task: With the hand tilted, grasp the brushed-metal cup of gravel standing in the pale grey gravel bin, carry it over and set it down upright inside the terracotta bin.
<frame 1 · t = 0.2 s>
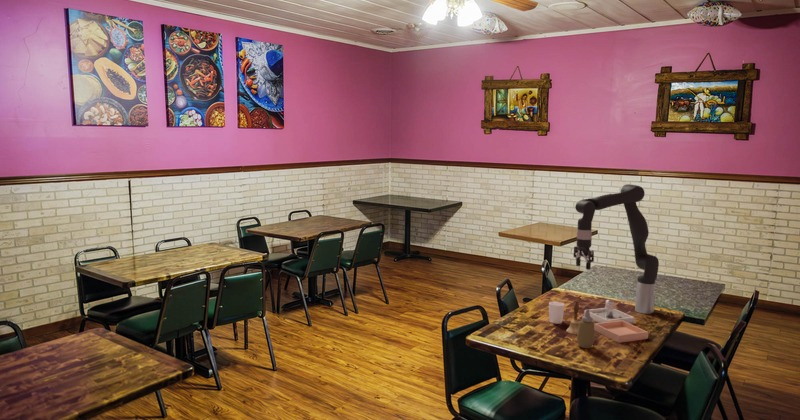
hand: (583, 267, 302), 29 cm above the table, tool pointing down, fingers open, 8 cm apart
terracotta bin: (620, 334, 284), on the table
squeeze bottle: (585, 346, 266), on the table
white cup: (555, 322, 301), on the table
gravel bin: (608, 319, 306), on the table
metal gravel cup: (608, 316, 305), point 2 cm above the table, touching gravel bin
hand bell: (574, 332, 286), on the table
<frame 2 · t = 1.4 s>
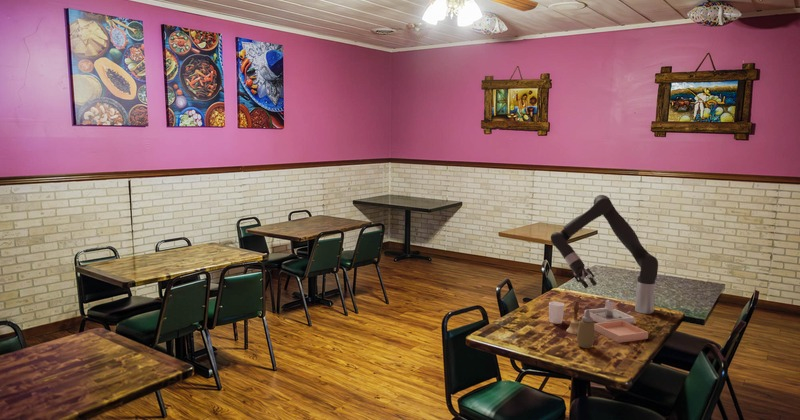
hand: (591, 286, 312), 16 cm above the table, tool tilted 45°, fingers open, 8 cm apart
nothing on the table moved.
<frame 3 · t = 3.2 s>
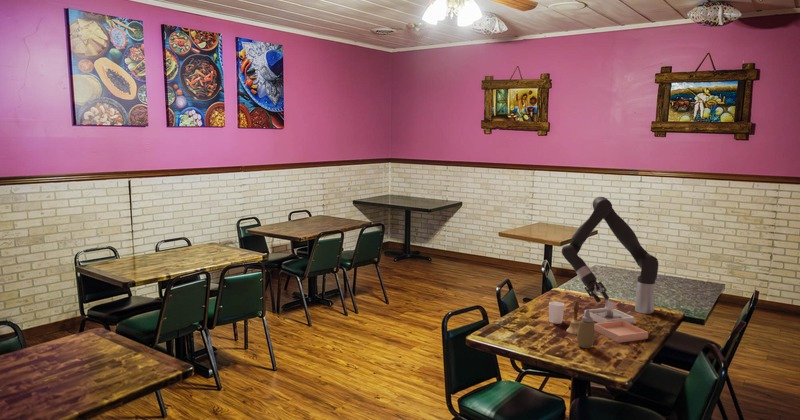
hand: (603, 300, 307), 10 cm above the table, tool tilted 45°, fingers open, 8 cm apart
nothing on the table moved.
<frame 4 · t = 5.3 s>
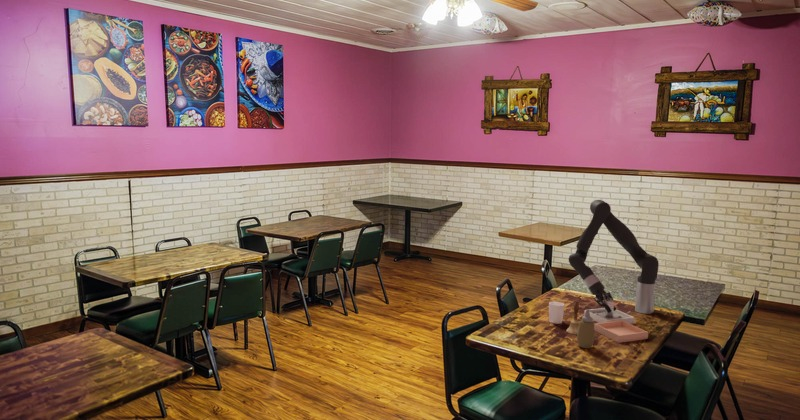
hand: (612, 311, 303), 5 cm above the table, tool tilted 45°, fingers closed on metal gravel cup, 4 cm apart
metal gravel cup: (608, 316, 305), point 2 cm above the table, touching gravel bin, gripper
everything else where it was.
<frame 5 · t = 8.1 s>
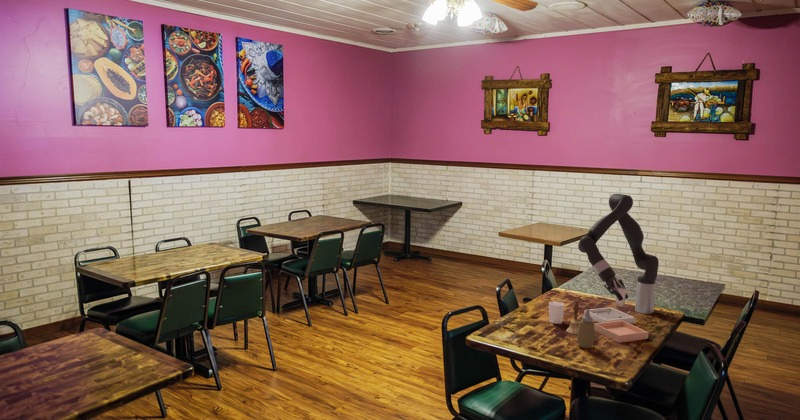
hand: (624, 299, 281), 18 cm above the table, tool tilted 45°, fingers closed on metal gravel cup, 4 cm apart
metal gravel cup: (619, 305, 283), point 15 cm above the table, touching gripper
everything else where it was.
when the fingers open (6 cm above the table, at t = 11.0 s): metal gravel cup drops 1 cm, resting on terracotta bin.
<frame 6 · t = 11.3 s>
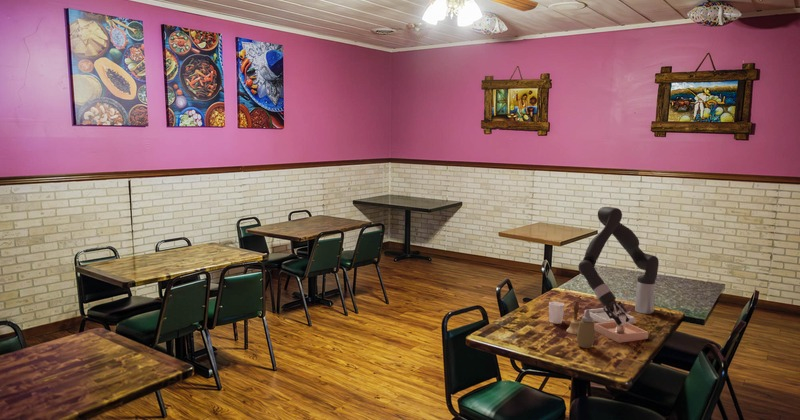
hand: (624, 322, 281), 7 cm above the table, tool tilted 45°, fingers open, 7 cm apart
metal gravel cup: (619, 332, 283), point 1 cm above the table, touching terracotta bin
everything else where it was.
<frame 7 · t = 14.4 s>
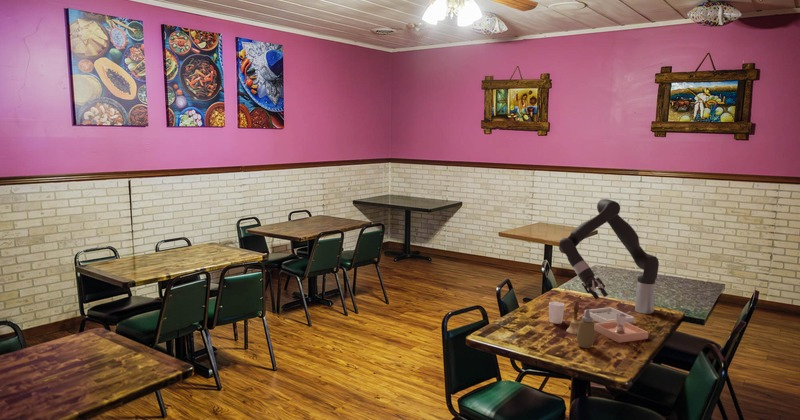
hand: (602, 297, 290), 16 cm above the table, tool tilted 45°, fingers open, 8 cm apart
nothing on the table moved.
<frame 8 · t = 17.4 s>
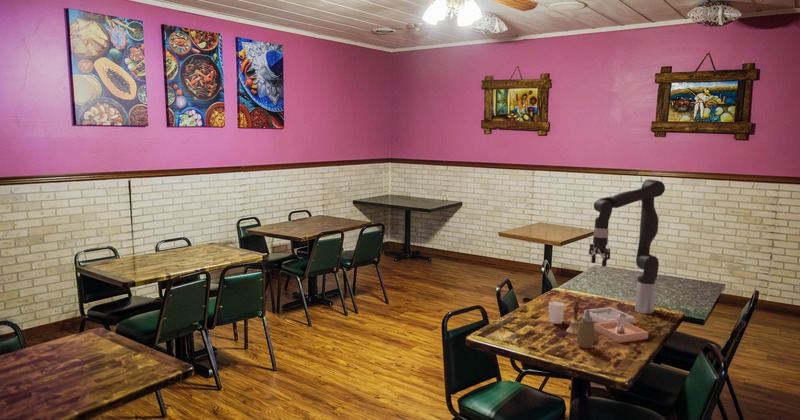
hand: (598, 264, 312), 28 cm above the table, tool pointing down, fingers open, 8 cm apart
nothing on the table moved.
at the end: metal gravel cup inside the target area on the terracotta bin (0.2 cm from its centre), point 1.0 cm above the terracotta bin's base; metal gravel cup tilted 0°; the gripper is holding nothing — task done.
